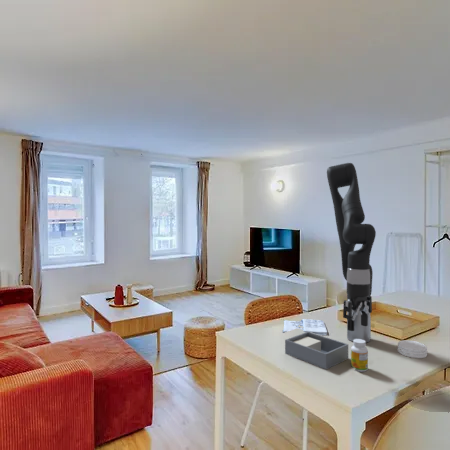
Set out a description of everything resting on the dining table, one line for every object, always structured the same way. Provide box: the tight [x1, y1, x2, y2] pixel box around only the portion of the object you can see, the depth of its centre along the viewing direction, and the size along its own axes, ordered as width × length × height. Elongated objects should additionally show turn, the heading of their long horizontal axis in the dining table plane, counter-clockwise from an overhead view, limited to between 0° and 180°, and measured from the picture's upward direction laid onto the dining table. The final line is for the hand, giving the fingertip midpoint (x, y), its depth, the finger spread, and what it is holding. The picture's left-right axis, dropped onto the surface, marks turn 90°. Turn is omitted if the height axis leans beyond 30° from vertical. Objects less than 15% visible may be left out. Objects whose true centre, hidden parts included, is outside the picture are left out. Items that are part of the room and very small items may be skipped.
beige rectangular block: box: [293, 337, 321, 351], centre depth 132 cm, size 10×7×4 cm, turn 129°
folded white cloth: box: [282, 318, 329, 336], centre depth 163 cm, size 19×20×2 cm
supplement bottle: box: [350, 339, 369, 373], centre depth 119 cm, size 5×5×10 cm
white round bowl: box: [397, 339, 428, 359], centre depth 132 cm, size 10×10×4 cm
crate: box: [284, 332, 349, 370], centre depth 128 cm, size 14×18×6 cm
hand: (357, 328), depth 119 cm, fingers open, 8 cm apart
